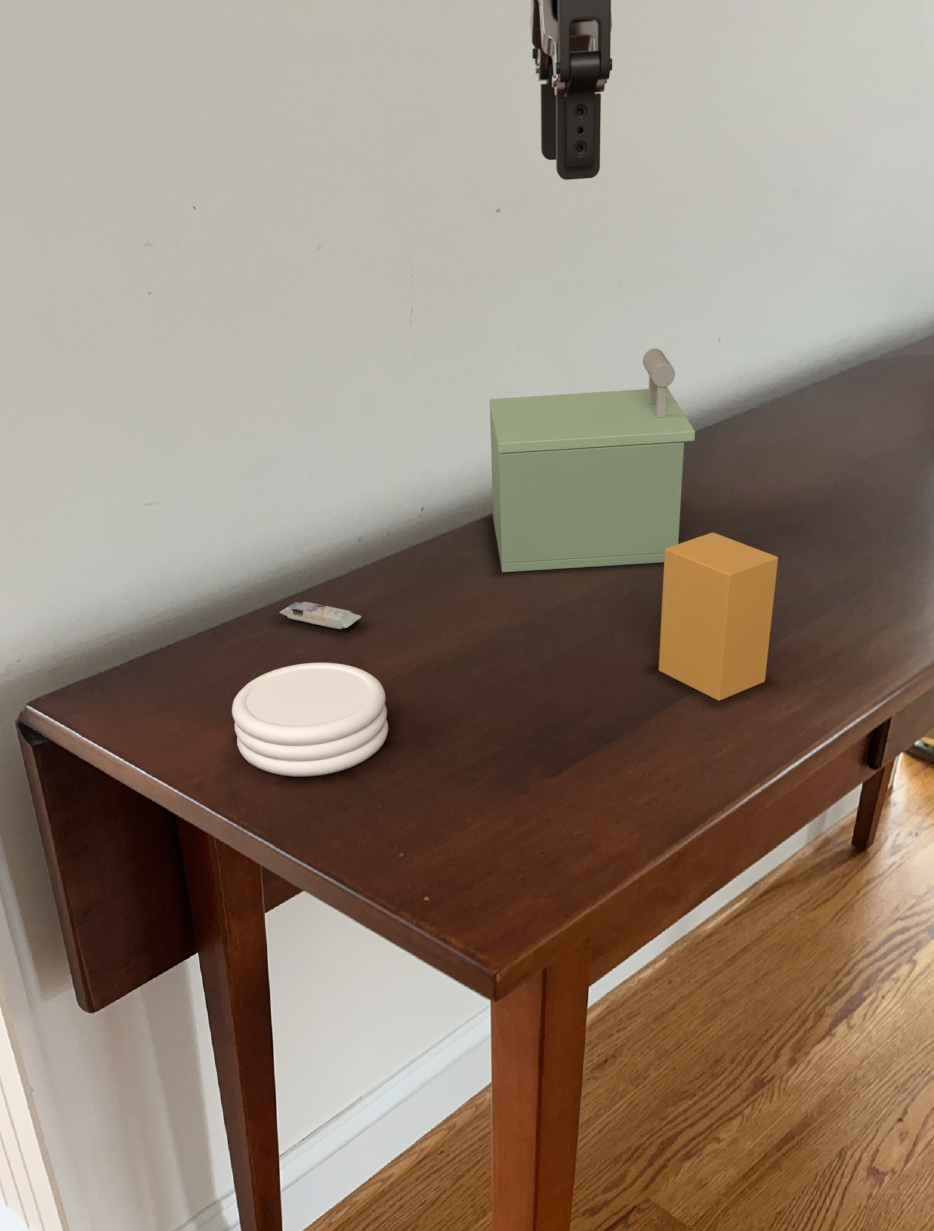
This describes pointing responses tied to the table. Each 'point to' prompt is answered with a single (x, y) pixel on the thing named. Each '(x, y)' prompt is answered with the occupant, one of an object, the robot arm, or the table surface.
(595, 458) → the chest
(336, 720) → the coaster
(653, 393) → the lid
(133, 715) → the table surface
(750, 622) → the carton
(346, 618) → the granola bar
